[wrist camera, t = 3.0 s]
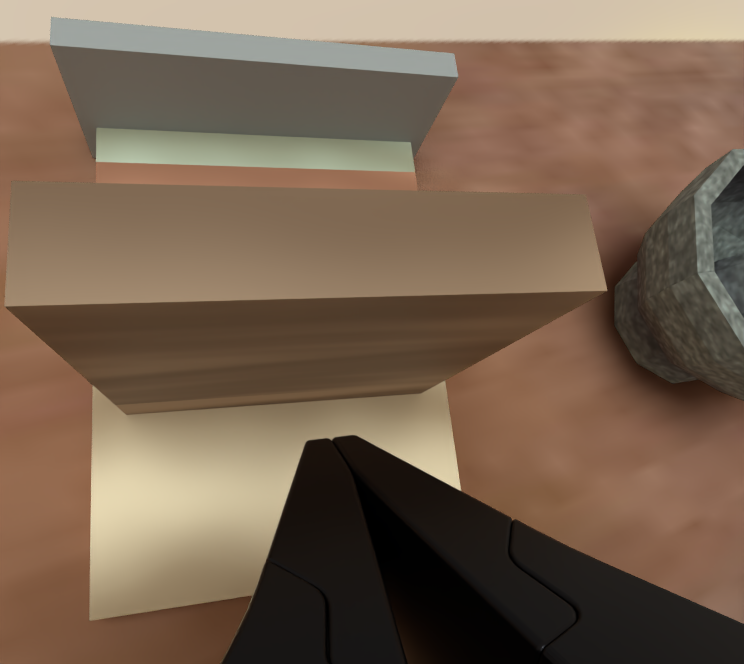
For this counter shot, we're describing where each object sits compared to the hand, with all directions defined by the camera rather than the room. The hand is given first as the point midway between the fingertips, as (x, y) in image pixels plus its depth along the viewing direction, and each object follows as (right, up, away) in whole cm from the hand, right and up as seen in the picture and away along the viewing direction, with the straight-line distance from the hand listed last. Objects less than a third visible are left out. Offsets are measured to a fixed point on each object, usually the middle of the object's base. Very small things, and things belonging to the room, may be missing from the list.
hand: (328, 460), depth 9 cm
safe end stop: (-4, +10, +15) cm, 18 cm away
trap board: (-3, +1, +13) cm, 13 cm away
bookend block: (-3, +2, +11) cm, 11 cm away
